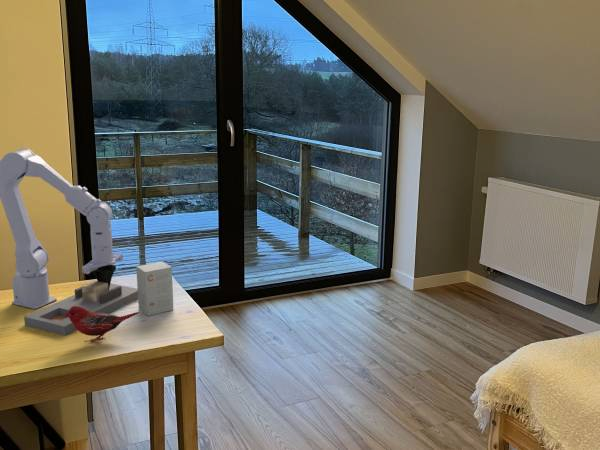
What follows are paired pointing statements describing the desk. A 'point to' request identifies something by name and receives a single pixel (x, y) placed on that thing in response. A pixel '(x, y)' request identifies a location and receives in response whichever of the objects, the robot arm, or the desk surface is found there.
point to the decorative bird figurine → (94, 322)
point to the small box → (155, 288)
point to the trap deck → (55, 313)
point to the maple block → (94, 290)
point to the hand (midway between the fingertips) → (104, 290)
